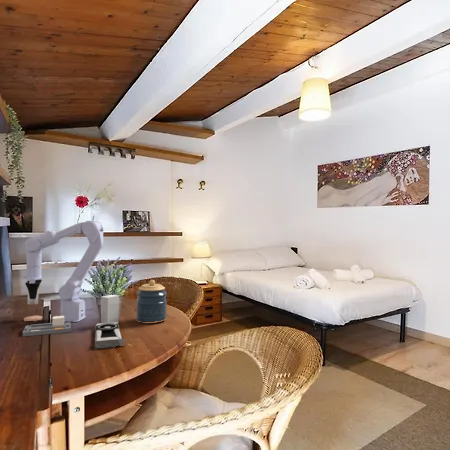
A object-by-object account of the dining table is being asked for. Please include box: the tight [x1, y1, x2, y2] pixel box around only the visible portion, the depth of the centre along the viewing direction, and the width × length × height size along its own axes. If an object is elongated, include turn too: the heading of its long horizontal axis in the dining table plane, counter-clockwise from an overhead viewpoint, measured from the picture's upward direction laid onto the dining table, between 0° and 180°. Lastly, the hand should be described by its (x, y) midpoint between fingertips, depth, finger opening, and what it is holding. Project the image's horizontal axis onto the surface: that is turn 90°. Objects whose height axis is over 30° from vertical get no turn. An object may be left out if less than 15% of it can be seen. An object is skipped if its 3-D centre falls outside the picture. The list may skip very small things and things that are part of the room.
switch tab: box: [51, 315, 65, 326], centre depth 140 cm, size 4×4×3 cm
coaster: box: [23, 315, 43, 322], centre depth 155 cm, size 7×7×1 cm
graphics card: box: [94, 322, 127, 350], centre depth 132 cm, size 10×3×25 cm
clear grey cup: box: [27, 286, 40, 305], centre depth 155 cm, size 4×4×8 cm
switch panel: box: [22, 321, 72, 337], centre depth 139 cm, size 16×9×2 cm, turn 113°
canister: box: [135, 279, 168, 322], centre depth 157 cm, size 13×13×18 cm
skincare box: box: [100, 294, 120, 324], centre depth 148 cm, size 6×4×12 cm
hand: (33, 297), depth 155 cm, fingers closed on clear grey cup, 4 cm apart
